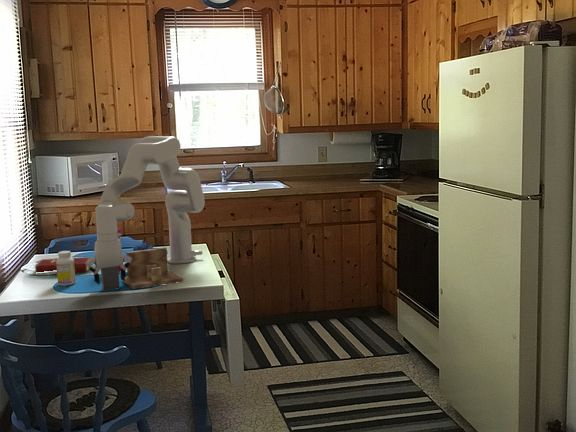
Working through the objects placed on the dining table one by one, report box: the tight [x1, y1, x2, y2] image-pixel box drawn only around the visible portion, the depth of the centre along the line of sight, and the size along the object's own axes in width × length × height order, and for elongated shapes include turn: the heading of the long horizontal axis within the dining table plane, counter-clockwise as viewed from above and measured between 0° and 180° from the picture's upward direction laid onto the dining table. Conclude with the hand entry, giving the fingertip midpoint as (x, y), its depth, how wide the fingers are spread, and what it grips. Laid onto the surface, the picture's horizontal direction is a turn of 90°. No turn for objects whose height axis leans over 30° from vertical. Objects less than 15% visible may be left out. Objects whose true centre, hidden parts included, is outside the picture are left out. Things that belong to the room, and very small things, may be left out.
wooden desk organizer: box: [124, 247, 184, 290], centre depth 271 cm, size 20×15×12 cm
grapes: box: [130, 242, 154, 252], centre depth 289 cm, size 12×7×12 cm, turn 94°
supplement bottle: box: [56, 250, 76, 287], centre depth 270 cm, size 7×7×13 cm
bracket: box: [100, 266, 120, 292], centre depth 262 cm, size 6×2×9 cm, turn 118°
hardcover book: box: [34, 256, 92, 273], centre depth 296 cm, size 12×21×4 cm, turn 96°
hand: (110, 281), depth 262 cm, fingers open, 9 cm apart
